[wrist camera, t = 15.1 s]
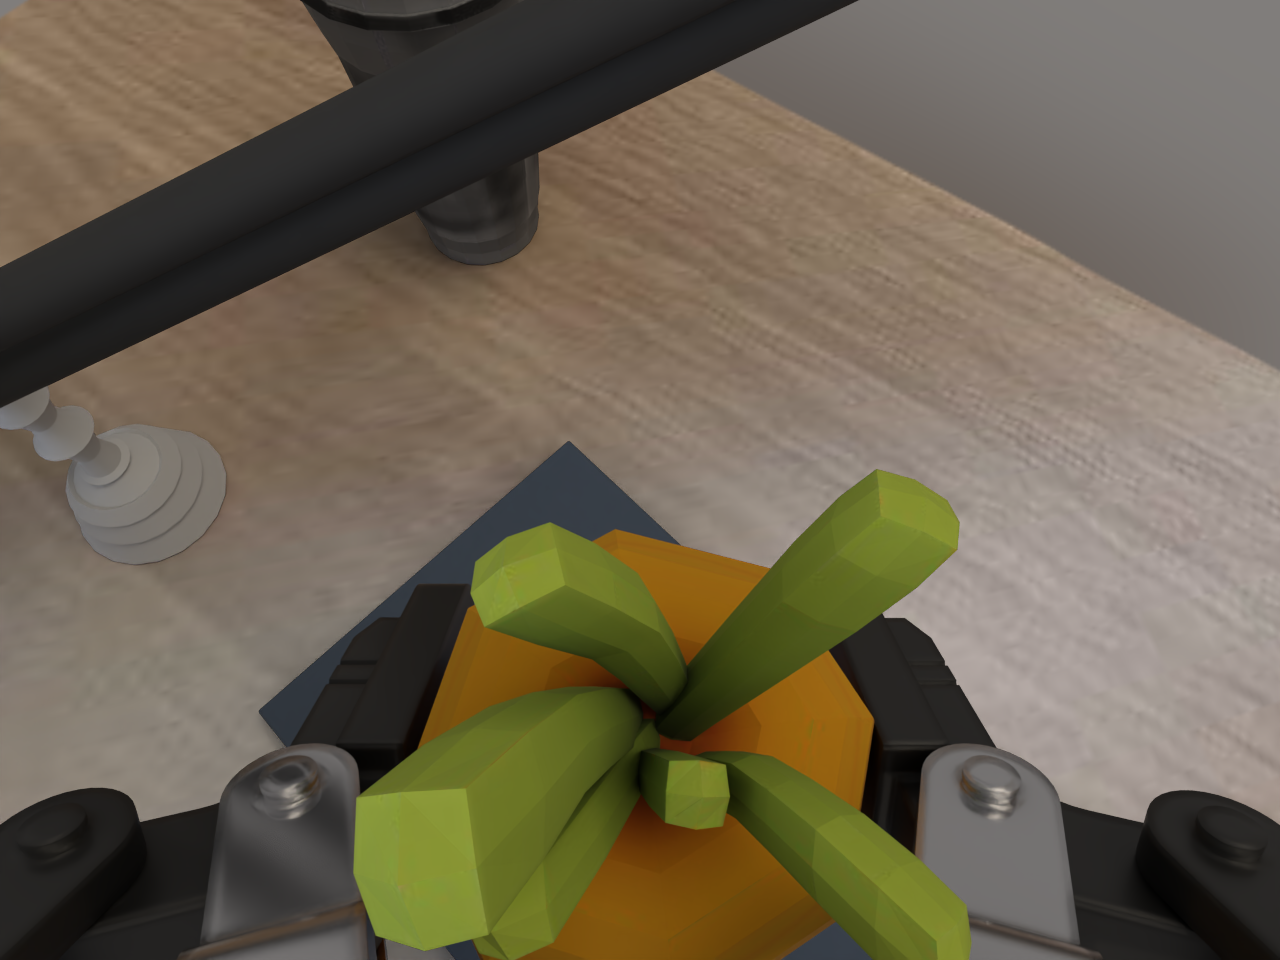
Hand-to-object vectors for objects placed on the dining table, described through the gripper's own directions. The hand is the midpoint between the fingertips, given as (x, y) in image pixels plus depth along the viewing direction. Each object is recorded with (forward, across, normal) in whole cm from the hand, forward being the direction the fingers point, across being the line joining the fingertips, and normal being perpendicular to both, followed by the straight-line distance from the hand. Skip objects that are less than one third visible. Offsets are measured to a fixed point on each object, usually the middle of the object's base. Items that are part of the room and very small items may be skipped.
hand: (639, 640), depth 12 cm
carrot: (+4, 0, +6) cm, 8 cm away
